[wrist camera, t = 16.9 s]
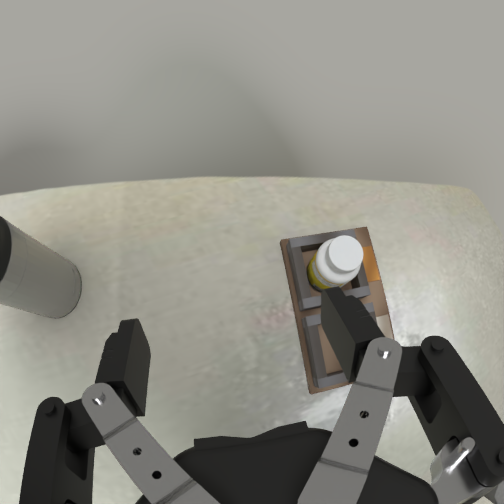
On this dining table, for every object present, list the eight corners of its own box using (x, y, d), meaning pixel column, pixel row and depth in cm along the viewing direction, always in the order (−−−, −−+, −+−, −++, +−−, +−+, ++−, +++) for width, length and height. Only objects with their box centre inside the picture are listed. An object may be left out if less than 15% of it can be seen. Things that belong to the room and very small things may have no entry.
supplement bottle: (334, 249, 44) (357, 223, 34) (349, 285, 42) (377, 267, 33) (299, 262, 43) (314, 237, 34) (314, 299, 42) (334, 285, 32)
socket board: (309, 392, 39) (316, 397, 35) (280, 242, 45) (283, 231, 41) (395, 368, 40) (409, 369, 36) (364, 229, 46) (374, 218, 42)
